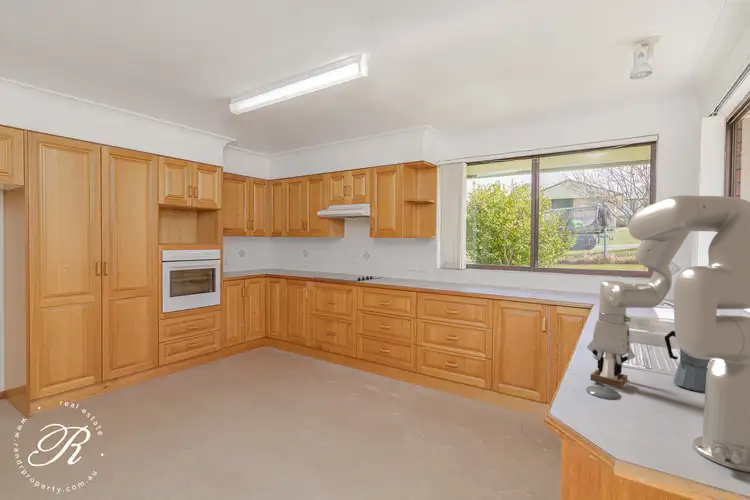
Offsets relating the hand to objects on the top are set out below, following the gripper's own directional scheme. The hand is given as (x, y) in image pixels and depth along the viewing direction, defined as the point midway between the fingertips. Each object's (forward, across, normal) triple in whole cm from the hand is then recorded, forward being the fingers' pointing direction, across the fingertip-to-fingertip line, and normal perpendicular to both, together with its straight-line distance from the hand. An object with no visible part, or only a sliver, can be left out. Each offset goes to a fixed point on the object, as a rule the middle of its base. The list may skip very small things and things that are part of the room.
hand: (609, 372), depth 127 cm
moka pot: (+4, -19, -18) cm, 26 cm away
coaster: (+4, -1, +10) cm, 11 cm away
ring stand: (+4, 0, -3) cm, 5 cm away
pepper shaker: (+4, 0, 0) cm, 4 cm away
